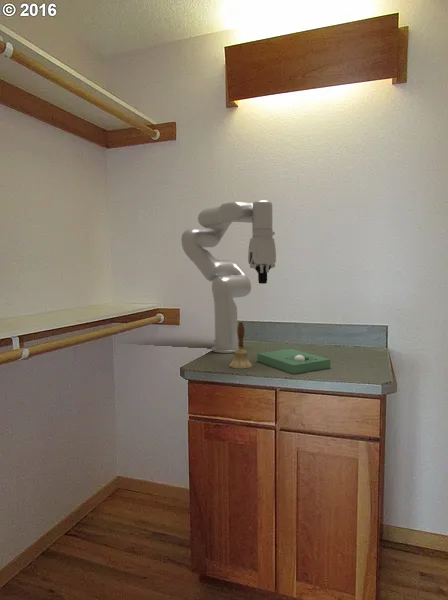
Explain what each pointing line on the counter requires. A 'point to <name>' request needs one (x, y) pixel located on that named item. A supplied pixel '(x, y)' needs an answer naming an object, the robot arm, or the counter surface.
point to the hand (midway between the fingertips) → (262, 283)
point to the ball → (299, 358)
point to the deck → (293, 361)
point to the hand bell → (240, 352)
